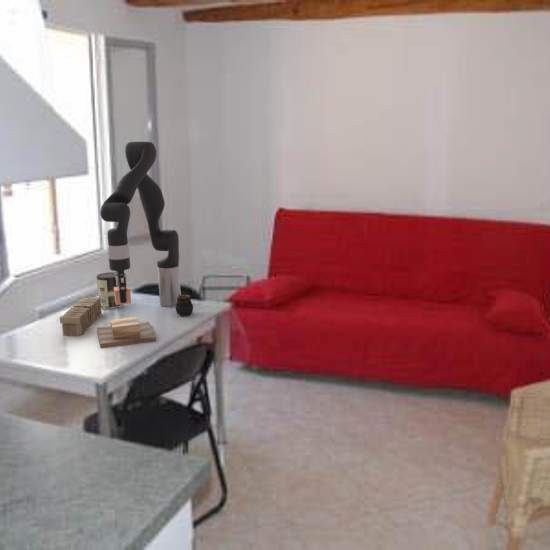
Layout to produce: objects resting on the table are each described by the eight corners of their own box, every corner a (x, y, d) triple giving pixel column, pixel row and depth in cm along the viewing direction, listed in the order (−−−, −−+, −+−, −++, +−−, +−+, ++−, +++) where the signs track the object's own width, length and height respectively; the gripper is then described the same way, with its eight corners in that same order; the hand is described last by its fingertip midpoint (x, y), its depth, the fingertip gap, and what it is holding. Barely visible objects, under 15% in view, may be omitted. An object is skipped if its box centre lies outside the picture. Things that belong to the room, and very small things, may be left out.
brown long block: (84, 316, 280) (60, 337, 251) (82, 297, 278) (58, 316, 249) (102, 316, 279) (81, 336, 251) (100, 297, 278) (79, 315, 249)
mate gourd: (195, 312, 278) (194, 289, 275) (190, 317, 270) (189, 294, 268) (179, 311, 279) (178, 289, 276) (173, 317, 272) (172, 294, 269)
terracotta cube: (114, 301, 249) (113, 287, 247) (129, 299, 250) (128, 285, 249) (116, 304, 244) (114, 290, 242) (131, 303, 245) (130, 289, 244)
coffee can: (125, 302, 295) (123, 271, 292) (120, 309, 285) (117, 277, 282) (102, 302, 296) (100, 272, 292) (96, 309, 285) (93, 278, 282)
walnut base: (97, 331, 257) (95, 317, 255) (148, 324, 262) (147, 311, 261) (100, 347, 238) (99, 333, 237) (155, 340, 244) (154, 326, 243)
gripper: (131, 259, 237) (135, 304, 241) (127, 251, 251) (130, 294, 255) (110, 261, 235) (114, 306, 239) (107, 253, 248) (111, 296, 252)
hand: (122, 300), depth 247 cm, fingers closed on terracotta cube, 5 cm apart
